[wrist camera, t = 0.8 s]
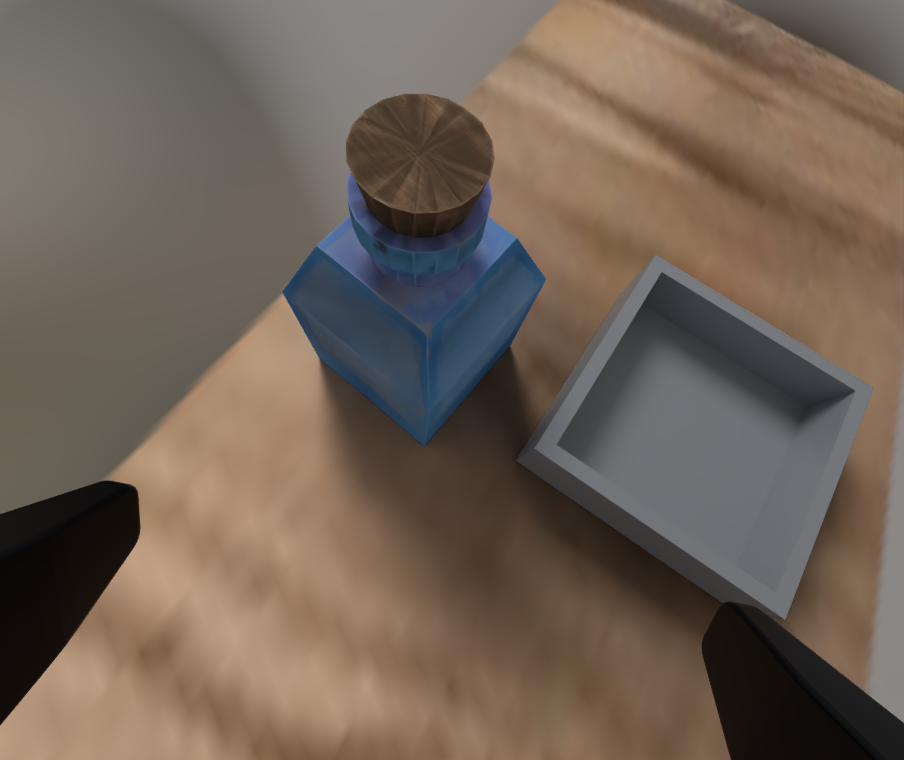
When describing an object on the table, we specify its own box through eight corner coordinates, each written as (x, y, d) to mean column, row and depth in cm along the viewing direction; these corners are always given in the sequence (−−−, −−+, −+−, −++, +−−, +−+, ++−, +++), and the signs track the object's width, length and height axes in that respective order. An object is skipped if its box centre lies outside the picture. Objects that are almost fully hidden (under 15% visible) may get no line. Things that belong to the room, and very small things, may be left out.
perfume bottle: (509, 345, 22) (617, 147, 10) (424, 446, 20) (439, 341, 9) (409, 267, 23) (407, 3, 11) (319, 357, 21) (205, 154, 9)
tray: (723, 604, 19) (785, 619, 16) (515, 460, 20) (534, 448, 17) (808, 407, 22) (873, 387, 19) (622, 291, 23) (655, 254, 20)
